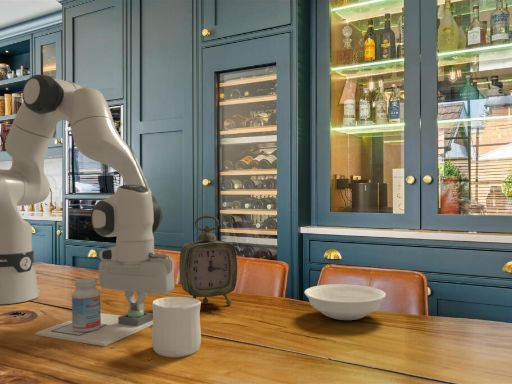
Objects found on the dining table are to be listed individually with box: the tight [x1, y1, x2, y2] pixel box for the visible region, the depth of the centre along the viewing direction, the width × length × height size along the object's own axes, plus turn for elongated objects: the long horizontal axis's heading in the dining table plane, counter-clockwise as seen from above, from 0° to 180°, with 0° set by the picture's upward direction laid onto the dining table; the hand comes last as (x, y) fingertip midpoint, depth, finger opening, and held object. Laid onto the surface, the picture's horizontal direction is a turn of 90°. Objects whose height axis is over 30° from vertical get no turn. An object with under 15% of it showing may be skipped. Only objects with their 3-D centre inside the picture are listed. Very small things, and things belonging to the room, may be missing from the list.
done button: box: [127, 308, 145, 318], centre depth 110 cm, size 4×4×2 cm
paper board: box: [35, 312, 153, 347], centre depth 107 cm, size 20×18×1 cm
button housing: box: [118, 311, 153, 326], centre depth 110 cm, size 6×6×2 cm
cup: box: [151, 296, 202, 358], centre depth 92 cm, size 10×10×10 cm
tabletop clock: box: [178, 215, 238, 306], centre depth 127 cm, size 14×9×25 cm, turn 114°
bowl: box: [304, 283, 387, 321], centre depth 113 cm, size 20×20×6 cm
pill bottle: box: [71, 277, 102, 332], centre depth 105 cm, size 6×6×11 cm
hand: (136, 309), depth 110 cm, fingers closed, pressing on done button
